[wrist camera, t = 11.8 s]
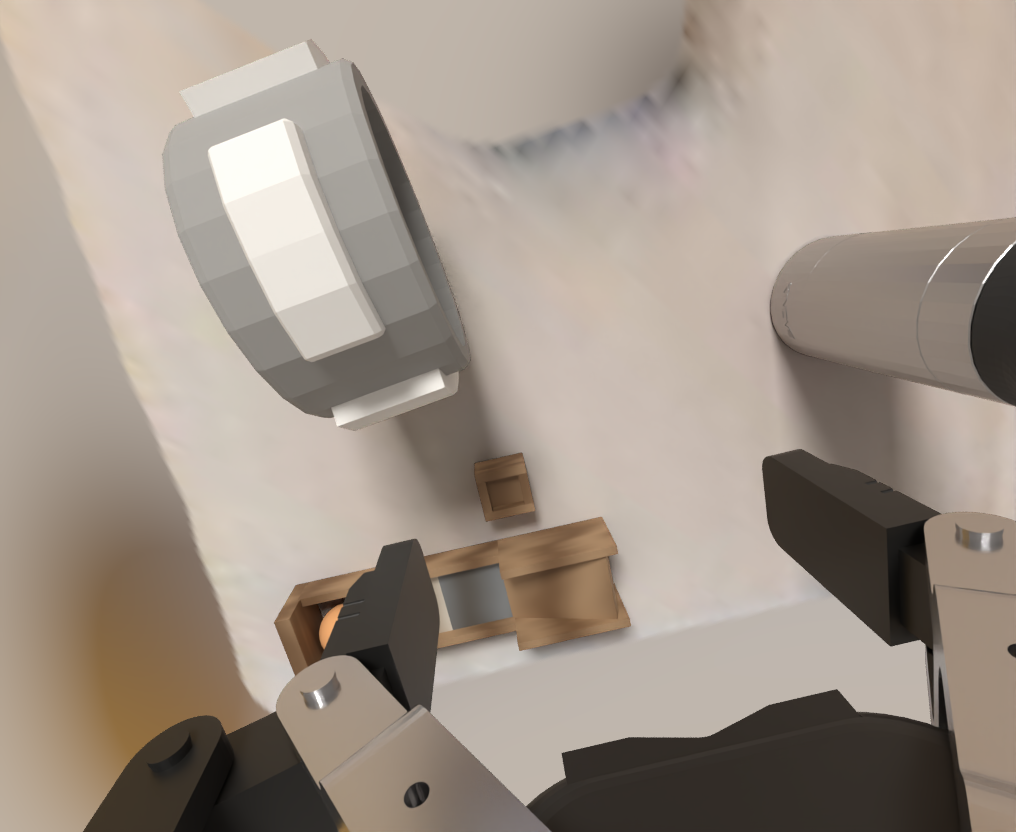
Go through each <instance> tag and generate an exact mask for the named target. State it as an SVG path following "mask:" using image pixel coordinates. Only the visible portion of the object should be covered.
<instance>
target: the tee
mask: <svg viewBox="0 0 1016 832" xmlns="http://www.w3.org/2000/svg"><path fill="white" fill-rule="evenodd" d="M474 476H475V480H476V484H477V488H478V492H479V496H480V500H481V504H482V508H483V512H484V516H485V520H486V522H487V521H492V520H496V519H500V518H505V517H509V516H514V515H518V514H523V513H527V512H532V511H535V507H534V503H533V498H532V494H531V489H530V485H529V480H528V476H527V471H526V467H525V462H524V458H523V454H522V453H518V454H513V455H509V456H504V457H500V458H496V459H491V460H487V461H482V462H478V463H475V471H474Z"/></svg>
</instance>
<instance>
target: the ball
mask: <svg viewBox="0 0 1016 832" xmlns="http://www.w3.org/2000/svg"><path fill="white" fill-rule="evenodd" d="M342 607H343V603H342V604H339V605H337V606H335V607H334V608H332V609H331V610H330V611H329V612H328V613H327V614H326V615H325V617H324V618H323V620H322V622H321V625H320V630H319V638H320V642H321V645H322V647H323V649H325V647H326V644H327V642H328V639H329V637H330V634H331V632H332V629H333V627H334V625H335V622H336V621H338V618H337V617H338V615H339V612H340V610H341V608H342Z"/></svg>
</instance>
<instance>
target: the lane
mask: <svg viewBox="0 0 1016 832" xmlns="http://www.w3.org/2000/svg"><path fill="white" fill-rule="evenodd" d="M615 554H618V550H617V546H616V544H615V542H614V540H613V538H612V536H611V534H610V532H609V530H608V528H607V526H606V524H605V522H604V520H603V518H602V517H599V518H594V519H590V520H585V521H581V522H576V523H572V524H567V525H563V526H558V527H554V528H549V529H545V530H540V531H536V532H531V533H527V534H523V535H518V536H514V537H509V538H505V539H500V540H496V541H491V542H487V543H482V544H478V545H473V546H469V547H464V548H460V549H456V550H451V551H447V552H442V553H438V554H433V555H429V556H424V559H425V562H426V565H427V569H428V572H429V575H430V578H431V582H432V585H433V588H434V591H435V595H436V598H437V602H438V608H439V616H440V628H439V637H438V647H437V648H442V647H446V646H451V645H455V644H460V643H464V642H469V641H473V640H478V639H482V638H487V637H491V636H495V635H500V634H504V633H509V632H513V631H516V632H517V641H518V647H519V651H522V650H526V649H531V648H535V647H540V646H544V645H549V644H553V643H558V642H562V641H567V640H571V639H576V638H580V637H585V636H589V635H593V634H598V633H602V632H607V631H611V630H616V629H620V628H625V627H629V626H631V623H630V618H629V616H628V614H627V612H626V609H625V607H624V605H623V603H622V600H621V598H620V596H619V593H618V591H617V589H616V587H615V584H614V583H613V579H612V574H611V568H610V563H609V558H608V556H610V555H615ZM375 568H376V567H375ZM375 568H371V569H366V570H362V571H357V572H353V573H348V574H344V575H339V576H335V577H330V578H326V579H321V580H317V581H313V582H308V583H304V584H299V585H296V586H295V588H294V589H293V591H292V593H291V594H290V596H289V598H288V599H287V601H286V603H285V605H284V606H283V608H282V610H281V611H280V613H279V615H278V617H277V618H276V620H275V622H274V624H275V626H276V629H277V631H278V634H279V636H280V639H281V641H282V644H283V646H284V649H285V651H286V654H287V656H288V659H289V662H290V664H291V667H292V669H293V672H294V674H295V676H296V675H297V674H298V673H300V672H301V671H302V670H304V669H305V668H307V667H309V666H310V665H312V664H314V663H316V662H318V661H320V659H321V656H322V654H323V651H324V649H323V647H322V645H321V642H320V638H319V630H320V625H321V622H322V620H323V618H322V615H321V612H320V610H319V607H318V603H322V602H326V601H331V600H335V599H340V598H344V597H346V595H347V593H348V590H349V588H350V587H351V586H352V585H353V584H354V583H355V582H356V581H357V580H358V579H359V578H360V576H361V575H362V574H363V573H365V572H369V571H374V570H375Z"/></svg>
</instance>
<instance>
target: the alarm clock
mask: <svg viewBox="0 0 1016 832" xmlns="http://www.w3.org/2000/svg"><path fill="white" fill-rule="evenodd" d="M179 92H180V94H181V96H182V97H183V99H184V101H185V102H186V104H187V106H188V107H189V109H190V111H191V113H192V114H193V116H194V117H193V118H190V119H188V120H186V121H184V122H181V123H179V124H177V125H175V126H174V128H173V129H172V130H171V132H170V133H169V136H168V139H167V142H166V145H165V148H164V151H163V154H162V156H163V169H164V182H165V191H166V195H167V198H168V202H169V205H170V209H171V212H172V216H173V219H174V223H175V226H176V230H177V233H178V236H179V238H180V241H181V243H182V245H183V248H184V250H185V252H186V254H187V257H188V259H189V261H190V264H191V266H192V268H193V270H194V273H195V275H196V277H197V279H198V282H199V284H200V286H201V288H202V289H203V291H204V293H205V295H206V296H207V298H208V300H209V302H210V303H211V305H212V307H213V308H214V310H215V312H216V314H217V315H218V317H219V319H220V320H221V322H222V324H223V326H224V327H225V329H226V331H227V332H228V334H229V335H230V337H231V338H232V339H233V341H234V342H235V343H236V345H237V346H238V347H239V349H240V350H241V351H242V353H243V354H244V355H245V357H246V358H247V359H248V361H249V362H250V363H251V365H252V366H253V367H254V369H255V370H256V371H257V372H258V373H259V374H260V375H261V376H262V377H263V378H264V379H265V380H266V381H267V382H268V383H269V384H270V385H271V386H272V388H273V389H274V390H275V391H276V392H277V393H278V394H279V395H280V396H281V397H282V398H283V399H285V400H286V401H288V402H289V403H291V404H292V405H294V406H295V407H297V408H298V409H300V410H301V411H303V412H304V413H306V414H311V415H315V416H319V417H324V418H333V417H334V418H335V421H336V424H337V427H341V428H345V429H349V430H353V431H356V430H359V429H361V428H364V427H367V426H370V425H372V424H375V423H378V422H381V421H383V420H386V419H389V418H391V417H394V416H397V415H400V414H402V413H405V412H408V411H411V410H413V409H416V408H419V407H422V406H424V405H427V404H430V403H433V402H435V401H438V400H441V399H444V398H446V397H449V396H452V395H454V394H455V393H456V392H457V391H458V384H459V371H461V370H463V369H465V368H466V367H467V365H468V364H469V362H470V361H471V359H470V351H469V347H468V343H467V339H466V335H465V332H464V329H463V325H462V322H461V319H460V315H459V312H458V309H457V306H456V303H455V300H454V297H453V294H452V291H451V288H450V286H449V283H448V280H447V277H446V274H445V272H444V269H443V266H442V263H441V260H440V258H439V255H438V252H437V250H436V247H435V244H434V242H433V239H432V236H431V234H430V231H429V228H428V226H427V223H426V221H425V218H424V215H423V213H422V210H421V208H420V205H419V203H418V200H417V198H416V195H415V193H414V190H413V188H412V185H411V183H410V180H409V178H408V175H407V173H406V171H405V168H404V166H403V163H402V161H401V159H400V156H399V154H398V152H397V149H396V147H395V144H394V142H393V140H392V138H391V135H390V133H389V131H388V129H387V126H386V124H385V122H384V119H383V117H382V115H381V113H380V111H379V109H378V107H377V104H376V102H375V100H374V98H373V96H372V94H371V92H370V90H369V88H368V86H367V84H366V82H365V80H364V78H363V76H362V75H361V73H360V71H359V70H358V69H357V67H356V66H355V64H354V63H353V62H351V61H348V60H346V59H343V58H342V59H340V60H337V61H335V62H332V63H330V62H329V60H328V59H327V57H326V56H325V54H324V53H323V52H322V51H321V50H320V48H319V47H318V46H317V45H316V44H315V43H314V41H313V40H312V39H310V40H308V41H305V42H303V43H300V44H297V45H295V46H292V47H290V48H287V49H285V50H282V51H280V52H277V53H275V54H272V55H270V56H267V57H265V58H262V59H260V60H257V61H255V62H252V63H249V64H247V65H244V66H242V67H239V68H237V69H234V70H232V71H229V72H227V73H224V74H222V75H219V76H217V77H214V78H212V79H209V80H207V81H204V82H202V83H199V84H197V85H194V86H192V87H189V88H187V89H184V90H182V91H179Z"/></svg>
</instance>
